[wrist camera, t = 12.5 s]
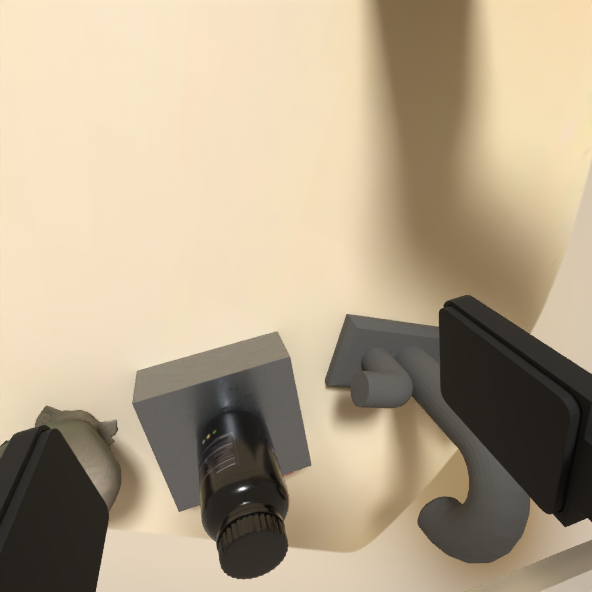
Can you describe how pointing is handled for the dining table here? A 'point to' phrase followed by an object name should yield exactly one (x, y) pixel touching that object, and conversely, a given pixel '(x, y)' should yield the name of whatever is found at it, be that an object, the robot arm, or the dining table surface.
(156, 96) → the dining table surface
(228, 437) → the supplement bottle
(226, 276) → the dining table surface
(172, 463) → the stand
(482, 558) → the faucet
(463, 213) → the dining table surface
